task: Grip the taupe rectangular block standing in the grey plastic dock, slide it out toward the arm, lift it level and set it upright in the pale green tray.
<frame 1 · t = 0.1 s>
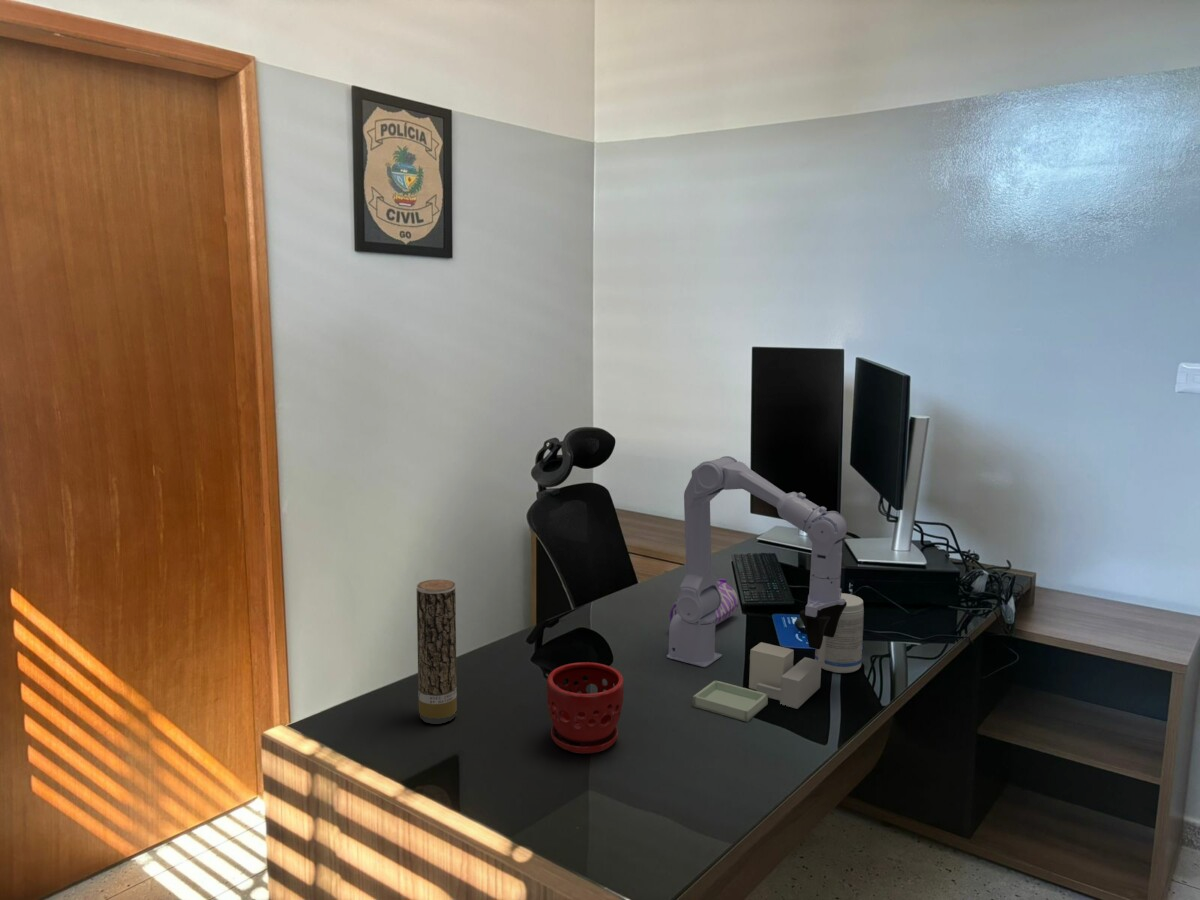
hand: (821, 641, 173), 10 cm above the table, tool pointing down, fingers open, 7 cm apart
plant pot: (584, 743, 152), on the table
supplement tub: (837, 666, 187), on the table
paper tube: (438, 718, 160), on the table
pencil case: (704, 627, 210), on the table
dock: (770, 687, 175), on the table
taupe rectangular block: (770, 688, 175), on the table
tray: (730, 705, 167), on the table
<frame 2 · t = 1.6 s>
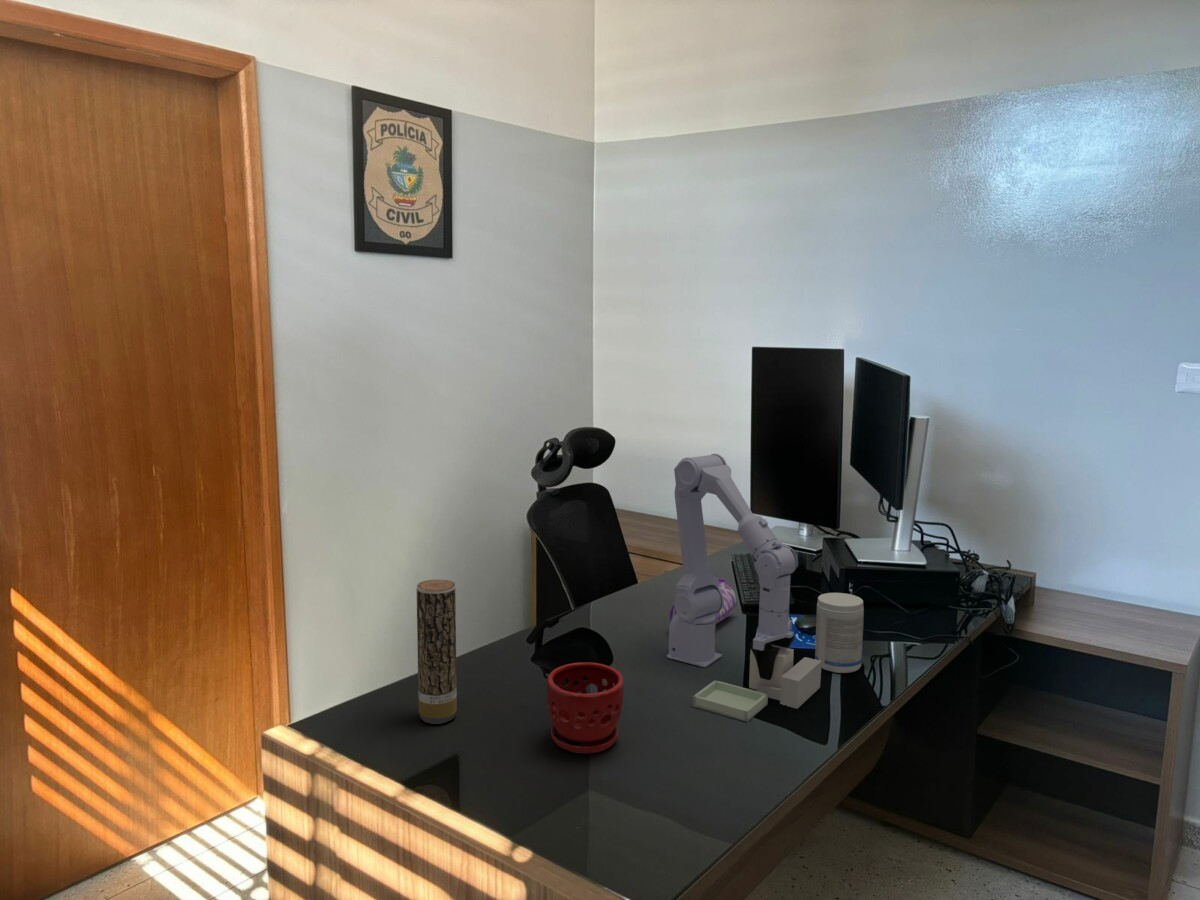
hand: (771, 673, 175), 3 cm above the table, tool pointing down, fingers closed on taupe rectangular block, 5 cm apart
taupe rectangular block: (770, 687, 175), on the table, touching gripper
everything else where it was.
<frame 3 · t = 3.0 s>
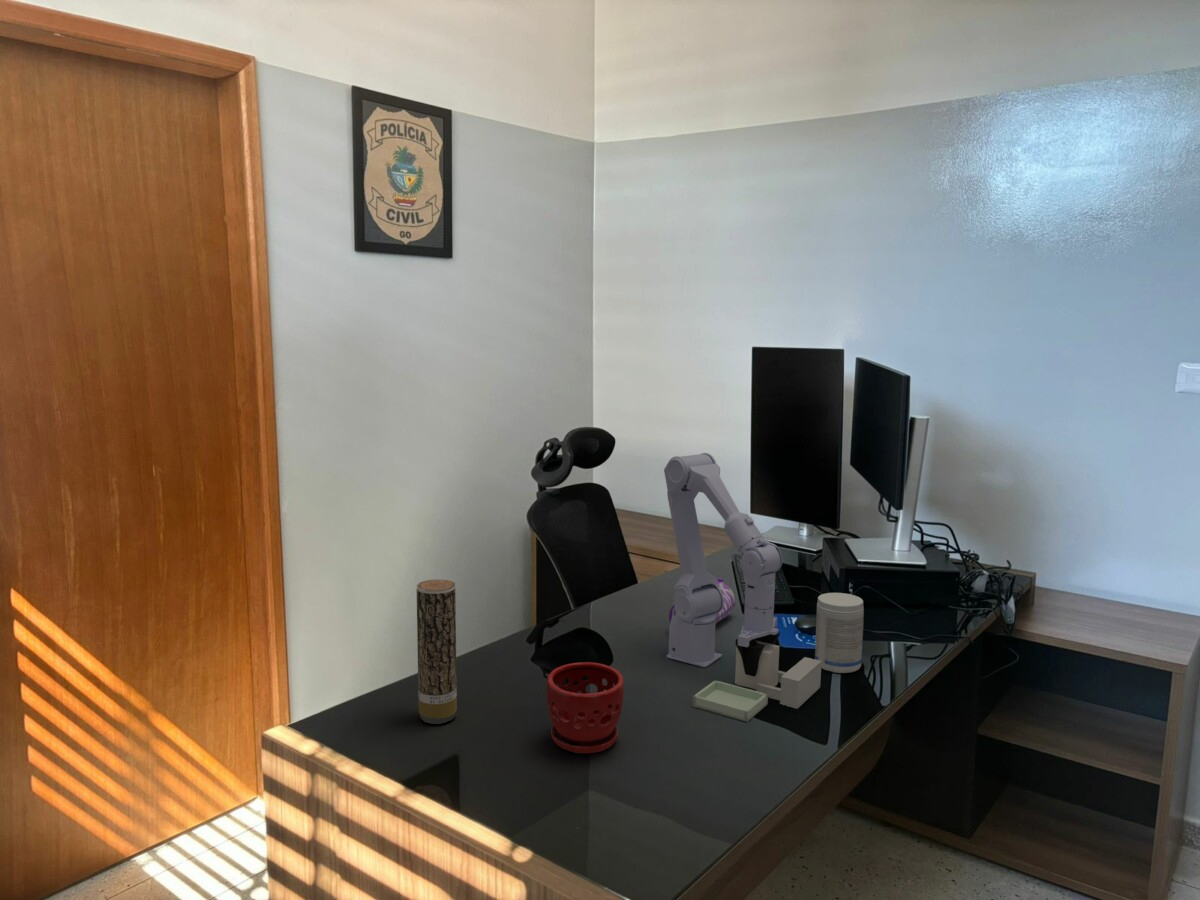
hand: (756, 670, 176), 3 cm above the table, tool pointing down, fingers closed on taupe rectangular block, 5 cm apart
taupe rectangular block: (756, 683, 177), on the table, touching gripper
everything else where it was.
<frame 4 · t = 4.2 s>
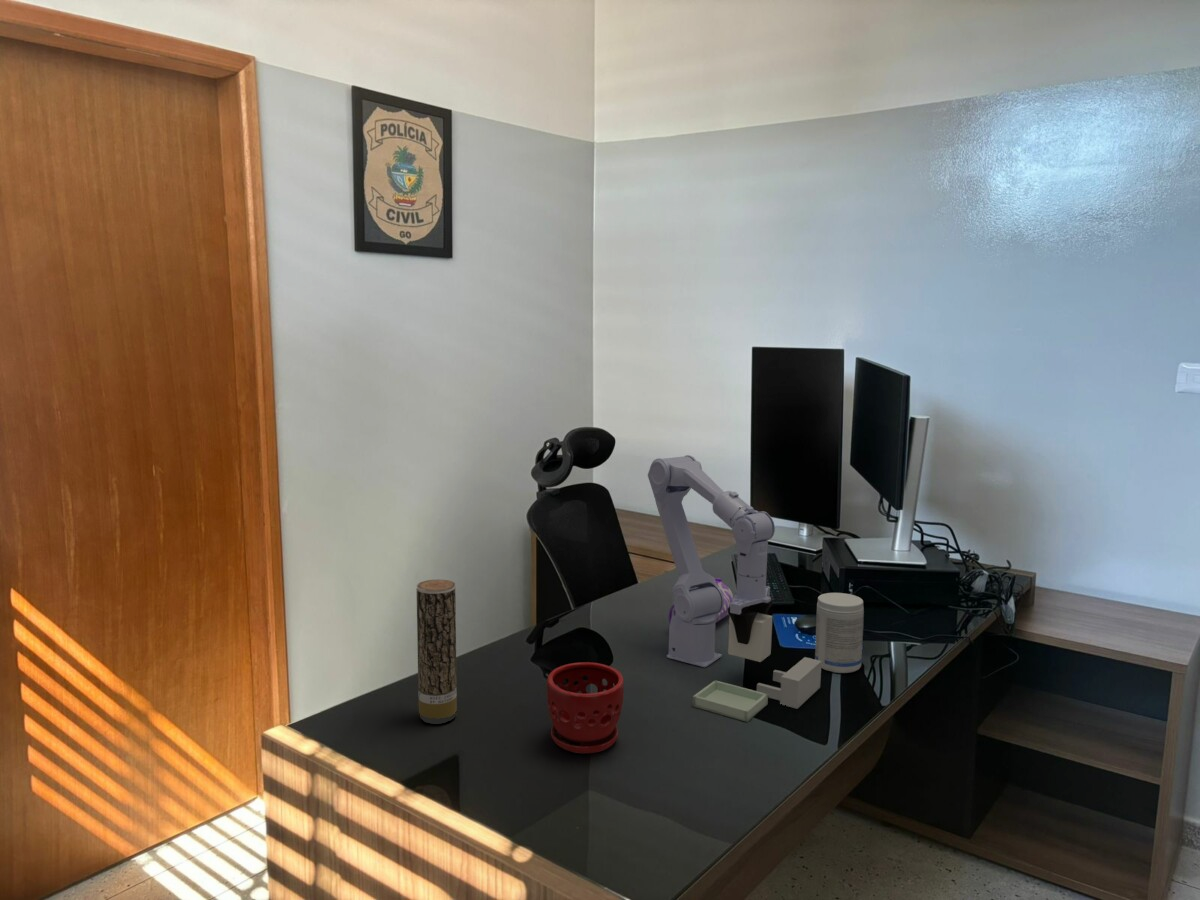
hand: (748, 638, 176), 9 cm above the table, tool pointing down, fingers closed on taupe rectangular block, 5 cm apart
taupe rectangular block: (749, 654, 177), point 6 cm above the table, touching gripper
everything else where it was.
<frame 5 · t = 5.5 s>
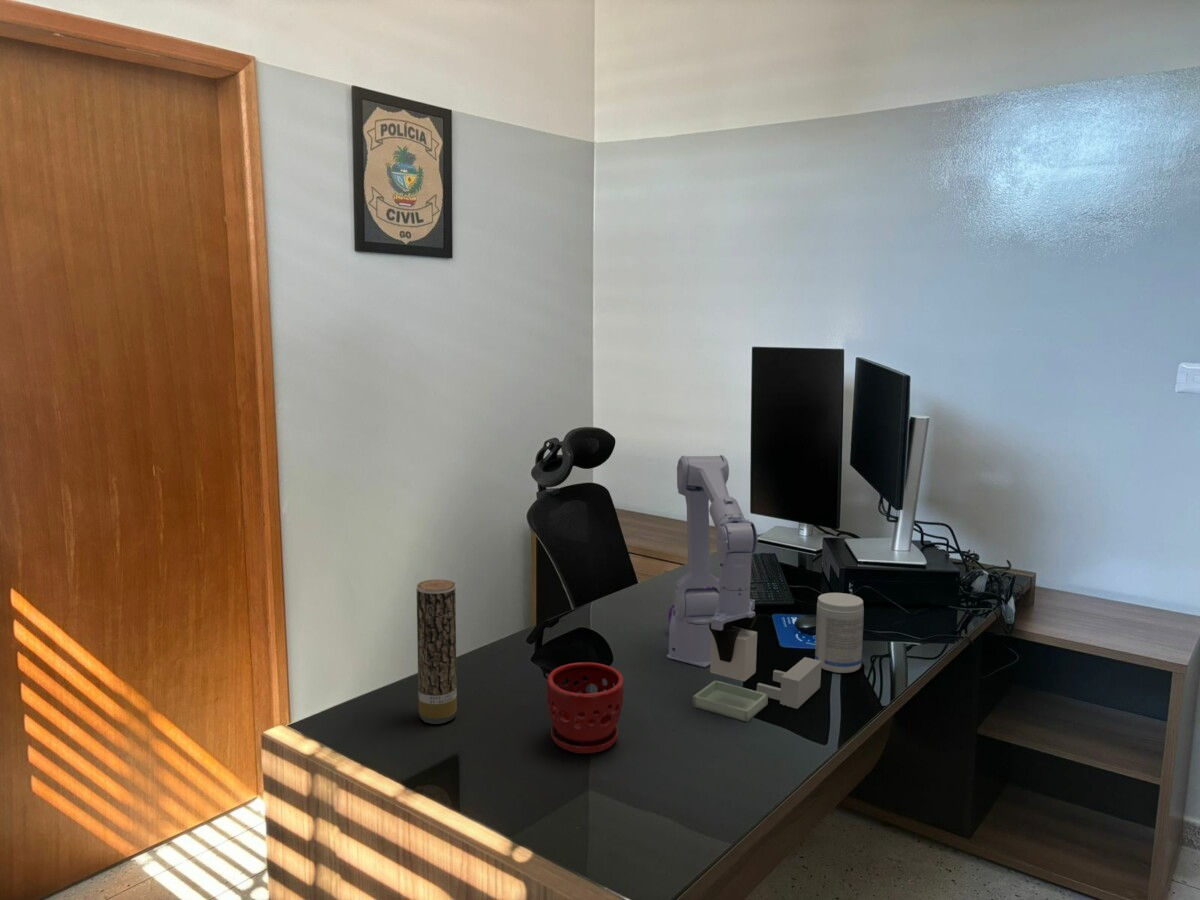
hand: (732, 656, 165), 10 cm above the table, tool pointing down, fingers closed on taupe rectangular block, 5 cm apart
taupe rectangular block: (732, 672, 166), point 7 cm above the table, touching gripper
everything else where it was.
when the fingers open (5 cm above the table, at t = 6.8 s): taupe rectangular block drops 2 cm, resting on tray.
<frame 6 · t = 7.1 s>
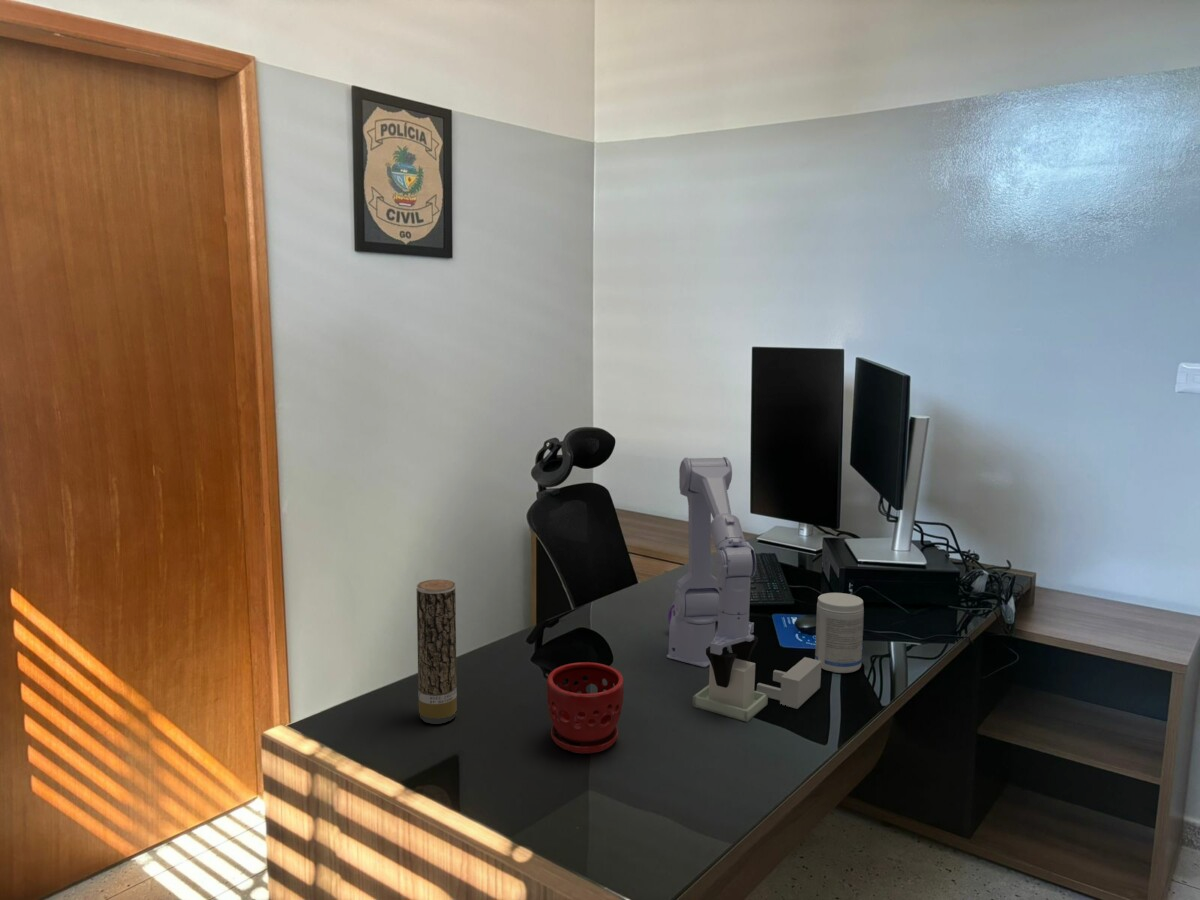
hand: (731, 679, 166), 5 cm above the table, tool pointing down, fingers open, 7 cm apart
taupe rectangular block: (731, 703, 166), resting on tray
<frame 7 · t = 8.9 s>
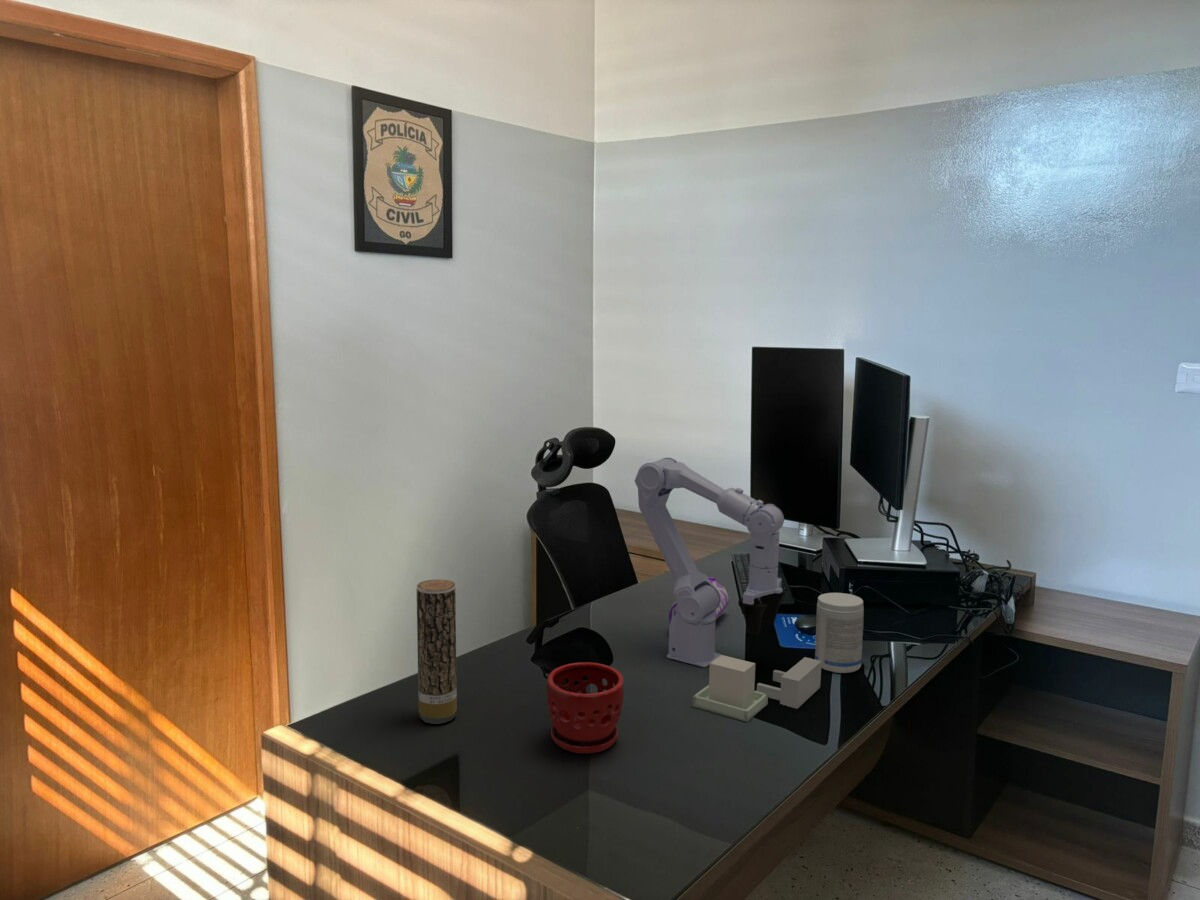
hand: (761, 629, 181), 9 cm above the table, tool pointing down, fingers open, 7 cm apart
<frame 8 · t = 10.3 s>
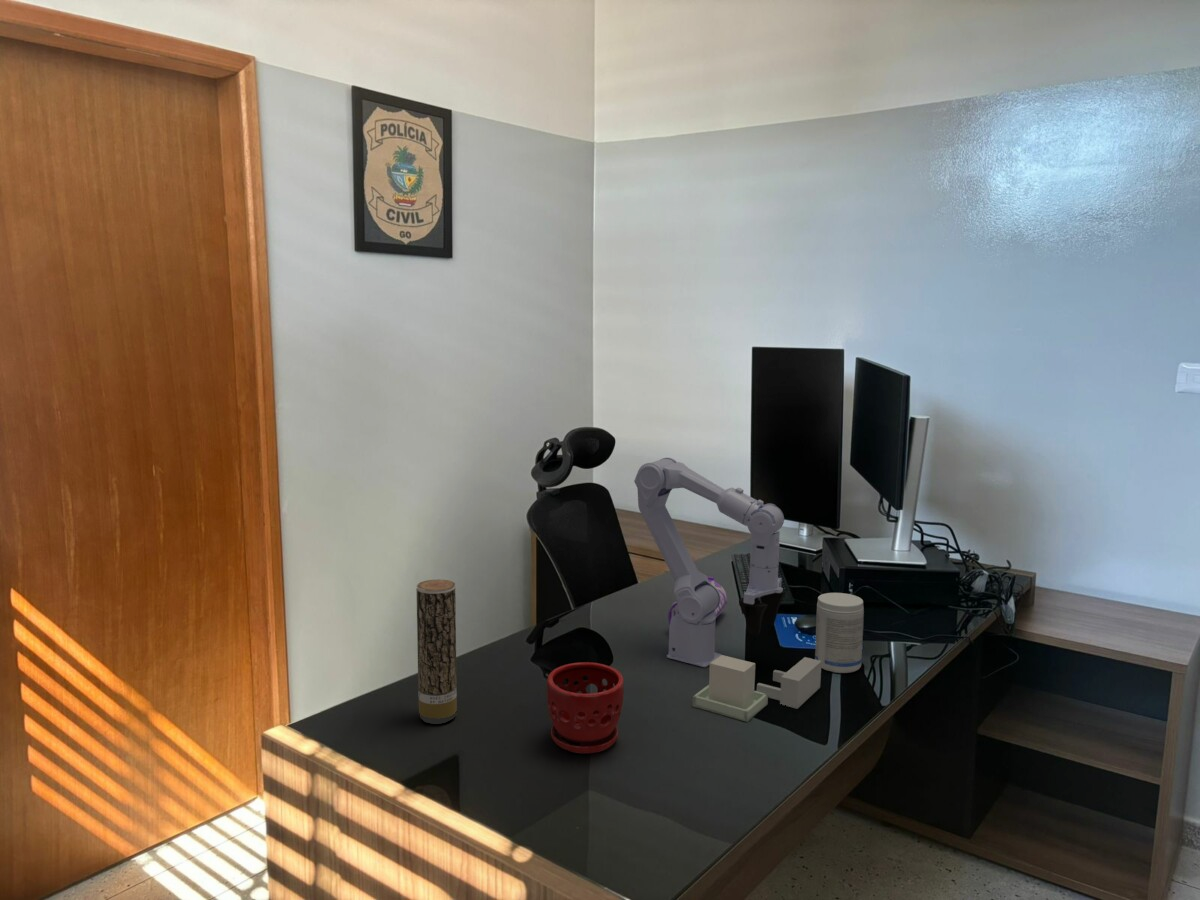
hand: (761, 628, 181), 9 cm above the table, tool pointing down, fingers open, 7 cm apart
at the end: taupe rectangular block 0.4 cm off-centre on the tray, point 0.5 cm above the tray's base; taupe rectangular block tilted 0°; the gripper is holding nothing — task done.
